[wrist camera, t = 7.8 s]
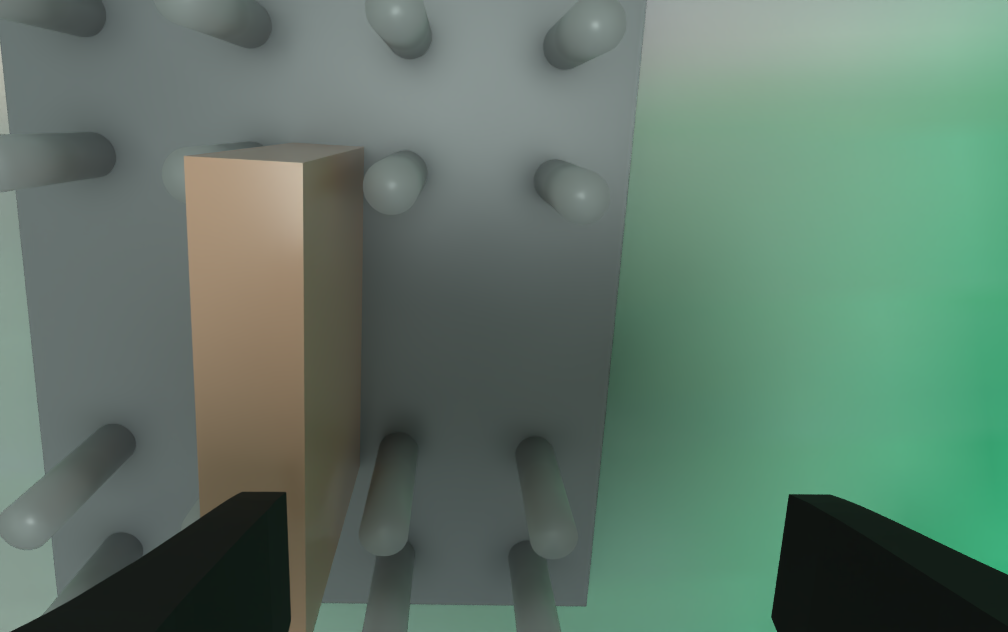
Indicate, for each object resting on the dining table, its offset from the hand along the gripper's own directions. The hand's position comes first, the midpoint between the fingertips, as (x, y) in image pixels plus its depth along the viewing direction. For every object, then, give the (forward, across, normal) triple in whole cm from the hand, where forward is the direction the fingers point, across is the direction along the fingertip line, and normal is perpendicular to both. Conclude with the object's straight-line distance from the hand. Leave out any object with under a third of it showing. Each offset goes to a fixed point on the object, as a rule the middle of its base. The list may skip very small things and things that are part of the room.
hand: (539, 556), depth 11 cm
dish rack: (+9, +4, -1) cm, 10 cm away
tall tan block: (+8, +4, -1) cm, 9 cm away
